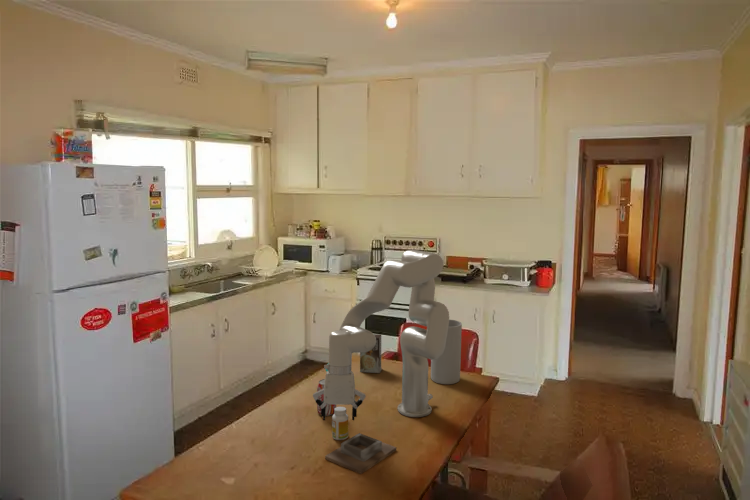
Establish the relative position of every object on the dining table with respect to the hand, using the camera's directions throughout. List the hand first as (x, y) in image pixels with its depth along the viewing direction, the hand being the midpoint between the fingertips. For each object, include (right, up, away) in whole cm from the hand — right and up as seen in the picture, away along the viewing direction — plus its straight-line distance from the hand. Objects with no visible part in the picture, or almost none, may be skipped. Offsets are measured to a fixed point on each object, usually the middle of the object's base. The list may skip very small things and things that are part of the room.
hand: (338, 418), depth 181 cm
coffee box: (+10, +2, +65) cm, 66 cm away
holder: (+8, -8, -10) cm, 15 cm away
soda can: (-6, -4, +20) cm, 21 cm away
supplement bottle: (0, -7, +1) cm, 7 cm away
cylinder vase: (+42, 0, +55) cm, 69 cm away
